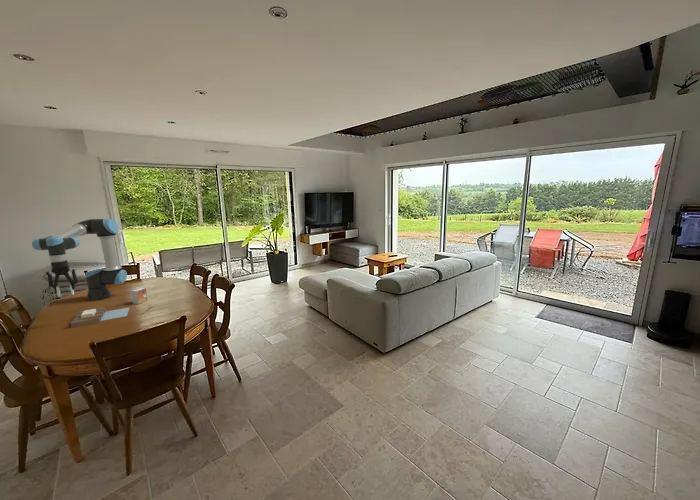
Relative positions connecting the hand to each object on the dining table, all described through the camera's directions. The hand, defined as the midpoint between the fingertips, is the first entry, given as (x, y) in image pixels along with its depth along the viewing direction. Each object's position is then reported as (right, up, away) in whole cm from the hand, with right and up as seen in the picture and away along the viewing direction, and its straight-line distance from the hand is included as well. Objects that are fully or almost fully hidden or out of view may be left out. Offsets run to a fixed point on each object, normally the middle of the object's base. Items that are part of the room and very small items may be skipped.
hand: (66, 295), depth 185 cm
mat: (+20, -16, +16) cm, 30 cm away
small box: (+20, -12, +38) cm, 45 cm away
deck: (+8, -18, +8) cm, 21 cm away
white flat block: (+8, -15, +8) cm, 18 cm away
